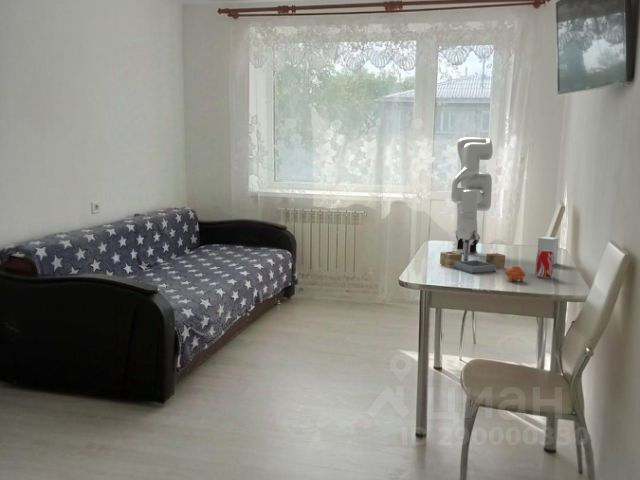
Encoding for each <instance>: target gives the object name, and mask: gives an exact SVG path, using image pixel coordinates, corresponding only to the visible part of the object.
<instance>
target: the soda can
mask: <svg viewBox="0 0 640 480" xmlns="http://www.w3.org/2000/svg"><path fill="white" fill-rule="evenodd" d="M535 259H536V260H535V271H534V272H535V276H537V277H538V278H541V279H549V278H551V277H553V271H554V264H553V262H554V253H553V250H551V249H539V251H538V250H537V252H536V258H535Z"/></svg>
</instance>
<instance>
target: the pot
mask: <svg viewBox="0 0 640 480" xmlns="http://www.w3.org/2000/svg"><path fill="white" fill-rule="evenodd" d="M505 275H506V276H507V278H508V281H509V283H510V282H512V280H515V281H517V280H520V283H521V282H523V280H524V278H525V277H526V273H525V271H524V270H523V269H522V268H521V267H519V266H513V265H512V266H511V267H509V268H507V269H506V270H505Z"/></svg>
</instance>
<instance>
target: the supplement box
mask: <svg viewBox="0 0 640 480" xmlns="http://www.w3.org/2000/svg"><path fill="white" fill-rule="evenodd" d="M559 241H560V239H559V237H552V236H541V237H538V241H537V252H538V251H539V249H551V250H553V253H554V262H553V265H556V264H557V262H558V251H559Z"/></svg>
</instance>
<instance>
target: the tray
mask: <svg viewBox="0 0 640 480" xmlns="http://www.w3.org/2000/svg"><path fill="white" fill-rule="evenodd" d="M453 269H455V270H458V271H462V272H465V273H468V274H471V275H475V274H487V273H489V274H490V273H496V271H497V269H496V265H493V264H489V263H486V261H482V260H478V259H474V260H468V261H464V260H462V261H458V262H454V267H453Z"/></svg>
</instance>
